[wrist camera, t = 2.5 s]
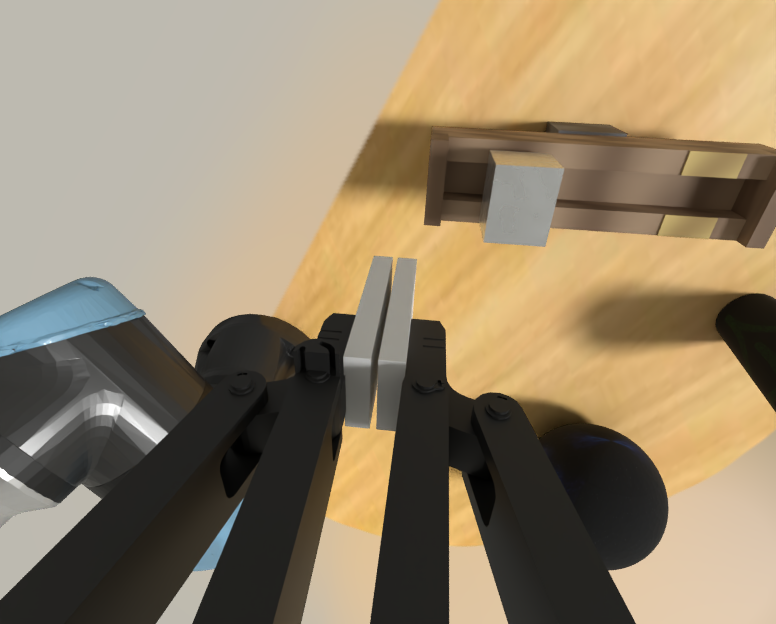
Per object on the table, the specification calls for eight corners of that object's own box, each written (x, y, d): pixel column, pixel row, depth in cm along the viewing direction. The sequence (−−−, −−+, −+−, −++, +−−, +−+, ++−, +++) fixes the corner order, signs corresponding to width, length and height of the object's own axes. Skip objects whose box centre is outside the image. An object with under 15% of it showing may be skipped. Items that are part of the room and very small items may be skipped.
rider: (476, 209, 34) (483, 242, 29) (486, 142, 32) (496, 164, 26) (528, 212, 34) (545, 246, 28) (542, 145, 31) (564, 168, 26)
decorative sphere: (518, 393, 52) (543, 507, 39) (651, 399, 50) (722, 520, 38) (505, 475, 60) (522, 592, 47) (619, 482, 58) (668, 605, 46)
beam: (426, 190, 40) (423, 227, 32) (433, 115, 37) (431, 136, 29) (697, 208, 39) (762, 251, 31) (730, 131, 35) (812, 157, 27)
